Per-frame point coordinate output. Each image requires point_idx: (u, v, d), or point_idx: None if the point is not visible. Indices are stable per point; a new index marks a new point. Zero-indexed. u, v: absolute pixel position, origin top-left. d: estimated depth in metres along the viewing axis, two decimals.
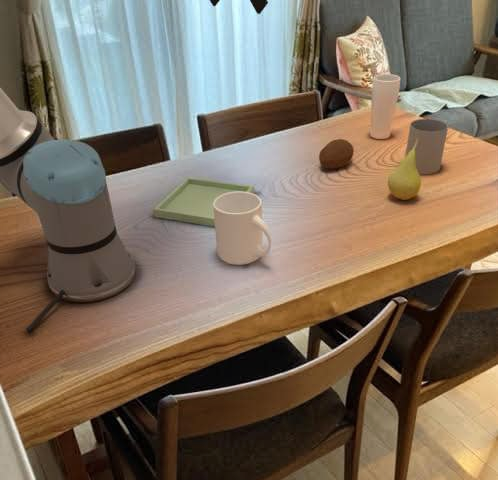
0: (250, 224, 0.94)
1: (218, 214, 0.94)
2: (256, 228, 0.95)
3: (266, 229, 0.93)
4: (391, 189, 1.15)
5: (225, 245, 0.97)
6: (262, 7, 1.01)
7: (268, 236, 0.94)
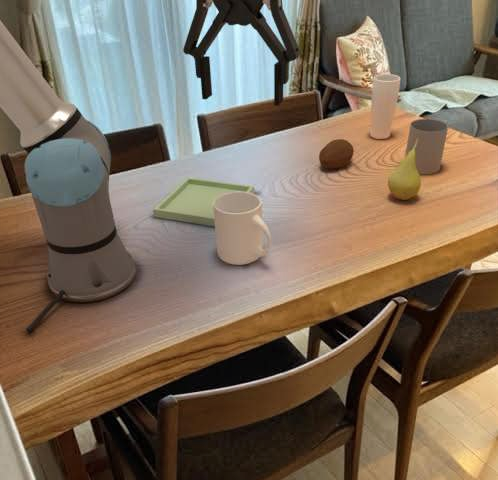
0: (250, 224, 0.94)
1: (218, 214, 0.94)
2: (256, 228, 0.95)
3: (266, 229, 0.93)
4: (391, 189, 1.15)
5: (225, 245, 0.97)
6: (280, 101, 0.93)
7: (268, 236, 0.94)
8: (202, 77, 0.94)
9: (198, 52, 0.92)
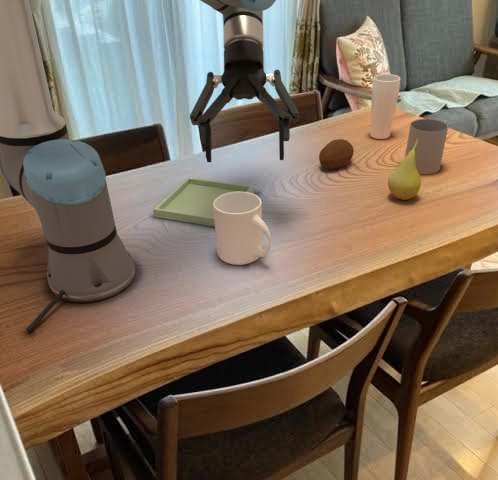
0: (250, 224, 0.94)
1: (218, 214, 0.94)
2: (256, 228, 0.95)
3: (266, 229, 0.93)
4: (391, 189, 1.15)
5: (225, 245, 0.97)
6: (283, 154, 0.99)
7: (268, 236, 0.94)
8: (207, 137, 0.99)
9: (205, 117, 1.00)
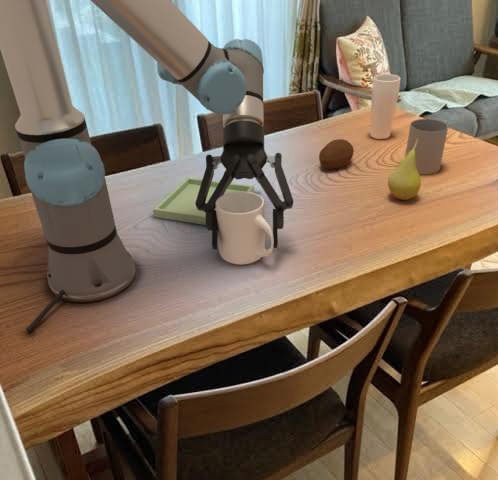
0: (253, 224, 0.94)
1: (221, 214, 0.93)
2: (258, 228, 0.95)
3: (269, 229, 0.93)
4: (391, 189, 1.15)
5: (228, 245, 0.97)
6: None
7: (271, 236, 0.94)
8: (213, 225, 0.95)
9: (210, 203, 0.96)
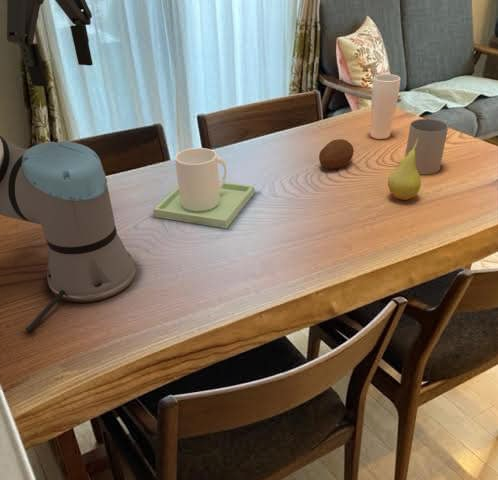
0: None
1: (207, 165, 1.08)
2: None
3: (222, 159, 1.16)
4: (391, 189, 1.15)
5: (213, 191, 1.12)
6: None
7: None
8: (40, 62, 0.89)
9: (31, 36, 0.87)
